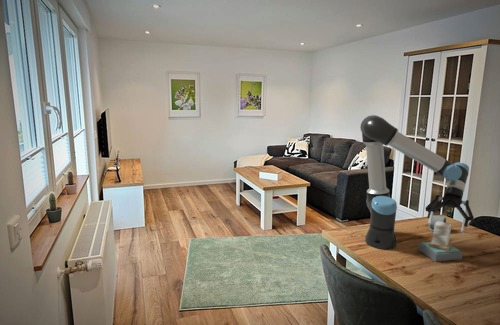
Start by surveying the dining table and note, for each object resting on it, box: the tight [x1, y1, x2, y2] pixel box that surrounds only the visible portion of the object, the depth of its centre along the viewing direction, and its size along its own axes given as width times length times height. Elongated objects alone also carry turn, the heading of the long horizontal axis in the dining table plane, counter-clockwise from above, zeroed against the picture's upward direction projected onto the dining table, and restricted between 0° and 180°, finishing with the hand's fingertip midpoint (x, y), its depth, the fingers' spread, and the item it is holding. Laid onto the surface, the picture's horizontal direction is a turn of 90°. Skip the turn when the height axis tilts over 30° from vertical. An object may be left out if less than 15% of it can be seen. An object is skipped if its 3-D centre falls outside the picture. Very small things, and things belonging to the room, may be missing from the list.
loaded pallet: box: [429, 221, 452, 252], centre depth 156 cm, size 8×8×11 cm
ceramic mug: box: [427, 214, 447, 232], centre depth 187 cm, size 11×8×8 cm
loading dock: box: [417, 241, 464, 262], centre depth 157 cm, size 14×12×4 cm
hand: (444, 227), depth 155 cm, fingers open, 13 cm apart
